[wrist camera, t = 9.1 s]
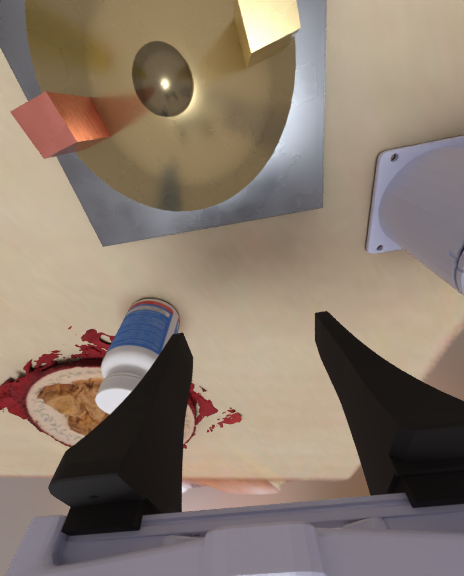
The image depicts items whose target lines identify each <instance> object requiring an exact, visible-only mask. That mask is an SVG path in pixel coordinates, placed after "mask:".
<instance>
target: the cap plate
mask: <svg viewBox="0 0 464 576" xmlns="http://www.w3.org/2000/svg"><path fill="white" fill-rule="evenodd" d="M296 1H297V7H298V13H299V19H300V25H301V28H300V30H299V31H298V32H297V34H296V35H295V46H296V71H295V84H294V92H293V97H292V103H291V108H290V112H289V115H288V118H287V122H286V125H285V128H284V131H283V133H282V136H281V138H280V140H279V143H278V145H277V147H276V149H275V150H274V152H273V154H272V156H271V158H270V159H269V161H268V162H267V163H266V165H265V166H264V168H263V169H262V171H261V172H260V173H259V174H258V175H257V176H256V177H255V178H254V180H253V181H252V182H251V183H250V184H248V185H247V186H246V187H245V188H244V189H243V190H241V191H240V192H239V193H237V194H236V195H234V196H233V197H231V198H230V199H228V200H226V201H224V202H222V203H220V204H217V205H215V206H212V207H208V208H205V209H201V210H195V211H181V212H177V211H166V210H161V209H157V208H152V207H149V206H146V205H143V204H141V203H138V202H136V201H134V200H132V199H130V198H128V197H126V196H124V195H122V194H121V193H119V192H118V191H116V190H114V189H113V188H111V187H110V186H109V185H108V184H106V183H105V182H104V181H102V180H101V179H100V178H99V177H98V176H97V175H96V174H95V173H93V172H92V171H91V170H90V169H89V168H88V167H87V166H86V165H85V163H84V162H83V161H82V160H81V159H80V158H79V157H78V155H77V154H76V153H75V152H73V153H68V154H64V155H59V156H57V158H58V160H59V162H60V164H61V166H62V168H63V170H64V172H65V174H66V176H67V178H68V180H69V182H70V184H71V185H72V187H73V189H74V191H75V193H76V195H77V197H78V199H79V201H80V203H81V205H82V207H83V209H84V211H85V213H86V215H87V217H88V218H89V220H90V222H91V224H92V226H93V228H94V230H95V232H96V234H97V236H98V238H99V240H100V242H101V244H102V246H103V247H104V246H110V245H115V244H121V243H127V242H132V241H138V240H144V239H149V238H155V237H160V236H166V235H172V234H177V233H183V232H189V231H194V230H200V229H206V228H211V227H217V226H222V225H228V224H234V223H239V222H245V221H251V220H256V219H262V218H268V217H273V216H279V215H284V214H290V213H296V212H301V211H307V210H313V209H318V208H323V157H324V104H325V51H326V0H296ZM0 48H1V50H2V51H3V53H4V55H5V57H6V59H7V61H8V63H9V65H10V67H11V69H12V71H13V73H14V75H15V77H16V79H17V81H18V83H19V84H20V86H21V88H22V90H23V92H24V94H25V96H26V98H27V100H28V101H30V100H31V99H33V98H35V97H37V96H38V95H40V94H42V92H41V89H40V87H39V84H38V81H37V78H36V75H35V71H34V67H33V63H32V60H31V56H30V50H29V44H28V38H27V31H26V15H25V0H0Z"/></svg>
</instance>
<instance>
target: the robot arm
mask: <svg viewBox="0 0 464 576" xmlns="http://www.w3.org/2000/svg"><path fill="white" fill-rule="evenodd" d="M393 154H395V159H394V160H392V161H391V156H392V155H393ZM379 245H381V247H380V248H378V249H377V247H378V246H379ZM401 249H404V250H405V251H407V252H408V253H409V254H410V255H412V256H413V257H414V258H416V259H417V260H418V261H419V262H421V263H422V264H423V265H425V266H426V267H427V268H428V269H430V270H431V271H432V272H434V273H435V274H436V275H438V276H439V277H440V278H441V279H443V280H444V281H445V282H447V283H448V284H449V285H450V286H452V287H453V288H454V289H456V290H457V291H458V292H459V293H461V294H462V295H464V135H463V136H458V137H453V138H448V139H442V140H437V141H432V142H427V143H422V144H417V145H412V146H407V147H402V148H396V149H391V150H386V151H383V152H382V153H381V154H380V155H379V156H378V159H377V166H376V174H375V181H374V189H373V197H372V205H371V213H370V221H369V229H368V237H367V244H366V250H367V252H368V253H370V254H375V253H381V252H388V251H394V250H401ZM315 342H316V345H317V348H318V351H319V354H320V357H321V360H322V362H323V364H324V366H325V369H326V371H327V373H328V375H329V377H330V380H331V382H332V384H333V386H334V388H335V390H336V393H337V395H338V397H339V400H340V402H341V404H342V407H343V410H344V413H345V416H346V419H347V422H348V425H349V428H350V431H351V434H352V437H353V440H354V443H355V446H356V449H357V452H358V455H359V459H360V462H361V465H362V468H363V472H364V475H365V478H366V481H367V485H368V488H369V492H370V495H371V496H362V497H350V498H339V499H327V500H315V501H305V502H292V503H281V504H270V505H258V506H246V507H235V508H223V509H212V510H200V511H189V512H182V507H181V506H182V504H181V503H182V460H183V440H184V426H185V417H186V410H187V404H188V398H189V393H190V387H191V380H192V372H193V356H192V354H191V351H190V349H189V346H188V344H187V341H186V339H185V336H184V334H183V333H178V334H172V336H171V337H170V339H169V340H168V342H167V343H166V345H165V346H164V348H163V350H162V351H161V353H160V354H159V356H158V357H157V359H156V360H155V362H154V363H153V365H152V366H151V367H150V369H149V370H148V371H147V373H146V374H145V375H144V377H143V378H142V379H141V381H140V382H139V383H138V385H137V386H136V387H135V388H134V389H133V391H132V392H131V393H130V394H129V395H128V396H127V397H126V398H125V399H124V400H123V402H122V403H121V404H120V405H119V406H118V407H117V408H116V409H115V410H114V411H113V412H112V413H111V414H110V415H109V416H107V417H106V418H105V419H104V420H103V421H102V422H101V423H100V424H99V425H98V426H96V427H95V428H94V429H93V430H92V431H91V432H89V433H88V434H87V435H86V436H85V437H83V438H82V439H81V440H80V441H78V442H77V443H76V444H74V445H73V446H72V447H71V448H69V449H68V450H67V451H66V452H65V454H64V456H63V458H62V460H61V462H60V464H59V466H58V468H57V470H56V472H55V474H54V476H53V478H52V480H51V482H50V484H49V491H50V493H51V494H52V495H53V496H54V497H56V498H57V499H59V500H60V501H62V502H64V503H65V504H67V505H68V506H70V507H71V508H70V510H69V513H68V515H67V516H63V515H53V516H43V517H42V516H41V517H35V518H33V519H32V521H31V523H30V525H29V527H28V529H27V531H26V533H25V535H24V537H23V539H22V541H21V543H20V545H19V547H18V550H17V551H16V554H15V556H14V558H13V560H12V562H11V564H10V566H9V568H8V570H7V572H6V574H5V576H464V401H462V400H460V399H458V398H455V397H453V396H451V395H448V394H446V393H444V392H442V391H440V390H437V389H436V388H433V387H432V386H430V385H428V384H425V383H424V382H422V381H420V380H418V379H416V378H414V377H413V376H411V375H409V374H407V373H406V372H404V371H402V370H400V369H399V368H397V367H396V366H394V365H392V364H391V363H389V362H388V361H386V360H385V359H383V358H382V357H380V356H379V355H378V354H376V353H375V352H373V351H372V350H371V349H369V348H368V347H367V346H366V345H364V344H363V343H362V342H361V341H359V340H358V339H357V338H356V337H355V336H353V335H352V334H351V333H350V332H349V331H348V330H347V329H345V328H344V327H343V326H342V325H341V324H340V323H339V322H338V321H337V320H336V319H335V318H334V317H333V316H332V315H331V314H330V313H329V312H327V311H324V312H318V313H315ZM341 527H342V528H341Z"/></svg>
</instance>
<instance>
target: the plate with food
mask: <svg viewBox="0 0 464 576" xmlns="http://www.w3.org/2000/svg"><path fill="white" fill-rule="evenodd" d="M71 327H72V326H71ZM71 327H70V328H68V329H71ZM103 334H104V333H102V332H100V333H97V331H96V330H95V329H90V330H88V331H86V333H85V334H84V335H83V336H82V337H81V339H82V341H88V342H89V343H93V344H94V345H97V346H94V345H90V344H87V345H88V346H87V345H81V346H78V345H75V346H76V347H80V349H81V350H82V351H83V352H82V354H75V355H71V358H74V359H75V358H77V357H79V358H80V357H82V358H84V359H81V358H80V360H79V361H74V362H70V363H65V364H62V365H55V364H57V363H58V362H57V361H52V360H53V359H55V358H58V357H59V356H57V355H62V354H54V353H57V352H60V351H57V350H55V351H51V352H53V353H51V354H43V355H42V356H41V357H39V360H37V361H34V362H37V364H36V366H35V368H34V370H33V371H32V370H31V361H32V360H31V361H29V362H28V363H27V364H26V365H25V366H24V369H23V370H25V371H26V373H27V374H26V376H25V377H22V378H18V379H16V380H15V381H14V382H12V383H11V381H10V380H7V381H6V382H5V383H4V384H3V385H2V386H0V410H2V408H5V407H7V409H8V411H9V412H10V413H12V414H14V415H17V416H19V417H21V418H22V419H27V418H28V419H27V420H28V421H30V423H31V424H33V425H34V426H35V427H36V428H37V429H38V430H39V431H40V432H43V433H46V434H47V435H49V436H51V437H53V438H54V439H55V440H56V441H59V442H60V443H62V444H64V445H65V446H69V447H72V446H73V445H74V444H76V443H77V442H78V441H80V440H81V439H82V438H83V437H85V436H86V435H87V434H88V433H89V432H91V431H92V430H93V429H94V428H95V427H96V426H98V425H99V424H100V423H101V422H102V421H103V420H104V419H105V418H106V417H107V416H109V415H110V414H108V413H106V412H104V411H103V410H101V409H100V408H99V407H98V406H97V404H96V401H95V398H96V395H97V393H98V390H99V388H100V385H101V383H102V382H103V380H104V377H103V375H102V372H101V364H102V361H103V359H104V358H102V357H105V355H106V353H107V351H105V350H103V349H101V348H104V349H106V350H108V349H109V347H110V345H108V344H105V343H103V342H101V341H100V340H99V338H100V336H101V335H103ZM104 335H106V334H104ZM106 336H109V335H106ZM109 337H110V340H111V341H113V339H114V338H115V336H109ZM63 345H64V344H63ZM81 350H79V351H81ZM86 353H88V354H86ZM63 358H65V357H63ZM87 358H88V359H87ZM89 358H90V359H89ZM96 358H97V359H96ZM67 360H69V359H67ZM60 361H61V360H60ZM42 363H47V364H46V365H45V366H44V367H41V368H39V366H40V365H41V364H42ZM191 381H192V380H191ZM199 387H200V386H199ZM193 389H194V384H193V383H191V387H190V393H189V398H188V404H187V410H186V417H185V426H184V440H183V448H185V449H187V446H186V445H185V444H186V443H188V442H189V440H190V439H191V437H193V436H194V434H195V431H196V430H195V429H196V427H195V425H197V424H198V423H199V422H200V421H201V420H202V419H203V418H204V417H205V416H207V417H208V416H209V415H212V414H215V413H217V412H218V409H216V408H214V407H213V404H212V402H211V401H210V400H208V401H207V400H205V399H204V397H202V396H201V395H199V394H200V393H199V392H198V393H196V392H194V391H193ZM202 390H203V389H202ZM203 392H204V390H203ZM197 400H198V401H197ZM197 402H198V404H199V406H200V408H199V413H200V415H199V416H197V418H196V416H195V415H196V410H195V409H196V407H195V405H196V404H197ZM230 409H232V408H231V407H230ZM3 410H4V409H3ZM227 411H229V412H231V413H234V409H233V410H227ZM3 412H4V411H3ZM223 413H226V412H223ZM223 413H222V414H223ZM202 416H203V418H202ZM228 416H231V417H229V418H227V417H228ZM231 418H232V419H231ZM223 419H224V421H222V422H219V423H217V424H219V425H220V427H222V428H223V424H222V423H226V424H234V423H236V422H240V421H241V419H242V418H241V417H240V415H239V413H238V412H237V413H235V414H232V415H230V414H229V415H227V416H226V418H223ZM217 420H220V419H217ZM214 427H215V426H214V425H212V427H210V431H211V432H212V431H213V430H212V429H214ZM211 428H212V429H211ZM207 432H209V430H207Z"/></svg>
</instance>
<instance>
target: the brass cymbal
mask: <svg viewBox="0 0 464 576" xmlns="http://www.w3.org/2000/svg"><path fill="white" fill-rule="evenodd" d="M25 15H26V31H27V38H28V44H29V50H30V56H31V60H32V63H33V67H34V71H35V75H36V78H37V81H38V84H39V87H40V89H41V92H42V94H40V95H38V96H37V97H35V98H33V99H31V100H30V101H28V102H26V103H25V104H23V105H21V106H19V107H18V108H16V109H14V110H13V111H11V114H12V115H13V116H14V118H15V119H16V121H17V122H18V123H19V125H20V126H21V127H22V129H23V130H24V132H25V133H26V134H27V136H28V137H29V139H30V140H31V141H32V143H33V144H34V146H35V147H36V148H37V150H38V151H39V152H40V154H41V155H42V157H43V158H44V159H45V158H50V157H55V156H59V155H64V154H68V153H73V152H75V153H76V154H77V155H78V157H79V158H80V159H81V160H82V161H83V162H84V163H85V165H86V166H87V167H88V168H89V169H90V170H91V171H92V172H93V173H95V174H96V175H97V176H98V177H99V178H100V179H101V180H102V181H104V182H105V183H106V184H108V185H109V186H110V187H111V188H113V189H114V190H116V191H118V192H119V193H121V194H122V195H124V196H126V197H128V198H130V199H132V200H134V201H136V202H138V203H141V204H143V205H146V206H149V207H152V208H157V209H161V210H166V211H177V212H181V211H195V210H201V209H205V208H208V207H212V206H215V205H217V204H220V203H222V202H224V201H226V200H228V199H230V198H231V197H233V196H234V195H236V194H237V193H239V192H240V191H241V190H243V189H244V188H245V187H246V186H247V185H248V184H250V183H251V182H252V181H253V180H254V178H255V177H256V176H257V175H258V174H259V173H260V172H261V171H262V169H263V168H264V166H265V165H266V163H267V162H268V161H269V159H270V158H271V156H272V154H273V152H274V150H275V149H276V147H277V145H278V143H279V140H280V138H281V136H282V133H283V131H284V128H285V125H286V122H287V118H288V115H289V112H290V108H291V103H292V97H293V92H294V84H295V71H296V46H295V35H296V34H297V32H298V31H299V30H300V28H301V25H300V19H299V13H298V7H297V1H296V0H25Z"/></svg>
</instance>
